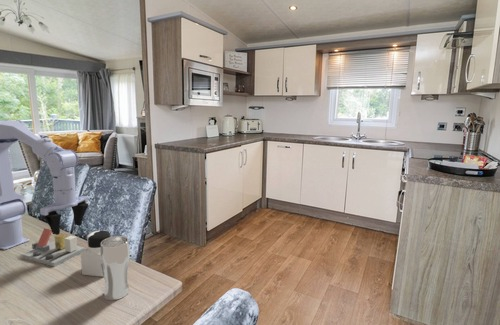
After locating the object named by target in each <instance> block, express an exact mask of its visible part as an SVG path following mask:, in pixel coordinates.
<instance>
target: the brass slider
mask: <svg viewBox="0 0 500 325" xmlns="http://www.w3.org/2000/svg"><path fill="white" fill-rule="evenodd" d="M67 237H68V236H67V234H66V233H61V232H60V234H58V235H56V234H55V235H54V241H55V248H56V249H60V250H61V249H63V248H65V238H67Z"/></svg>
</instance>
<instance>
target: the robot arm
mask: <svg viewBox="0 0 500 325" xmlns="http://www.w3.org/2000/svg"><path fill="white" fill-rule="evenodd" d="M18 141H20V142H21V143H24V144H26V145H27V146H29V147H30V148H31V151H32V153H33V154H35V155H36V156H38V157H39V158H41V159H42V160H44V161H45V162H46V165H47V167H48V170H49V174H50V176H51V177H52V186H53V197H54V202H53V203H50V204H48V205H46V206H44V207H41V208H39V209H40V210H39V213H40V215H41V217H42V218H43V219H44V220H45V221H46V223H47V224H48V226H49V228H50V230H52V233H51V234H53V235H55V236H56V235H58V234H61V227H60V226H61V225H60V223H61V218H62V213H61V214H60V213H58V211H60V210H61V211H62V210H65V209H68V208H71V210H72V214H73V221H74V225H75V226H79V227H80V226H82V222H83V219H84V216H85V214H86V212H87V210H88V208H89V204H88V202H89V196H88V195H87V196H86V195H82V196H77V192H76V190H77V189H76V176H75V175H76V174H75V168H76V167H77V166H78V164H79V156H78V154H77V152H75V150H73V149H65V148H63V147H61V146H60V145H58V144H56V143H54V142H53V141H52V139H50V138H49V137H48V138H45V137H44V138H40V137H39V136H38V135H36V134H35V133H34V132H32V131H31V130H30V129H29V127H28V125H27V123H25V122H24V121H22V120H21V119H16V120H15V119H14V120H0V250H4V251H5V250H8V249H12V248H14V247H17V246H18V245H22V244H24V243H26V242H29V241H30V238H26V237H24V233H23V231H24V230H23V224H22V223H23V222H22V218H24V215H25V214H26V213H27V209H28V206H27V205H28V204H27V203H26V201H25V199H24V195H23V194H21V193H18V192H16V191H15V189H16V188H15V184H14V176H13V171H12V170H13V169H12V163H11V156H10V152H9V151H10V150H9V149H10V147H11V146H12V145H13V144H15V143H17V142H18Z"/></svg>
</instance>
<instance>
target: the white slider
mask: <svg viewBox="0 0 500 325" xmlns="http://www.w3.org/2000/svg"><path fill="white" fill-rule="evenodd" d="M77 246H78V239H77V236H74V235H69V236H67V238H65V251H68V252H72V251H74V250H76V249H77Z"/></svg>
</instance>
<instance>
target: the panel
mask: <svg viewBox="0 0 500 325" xmlns="http://www.w3.org/2000/svg"><path fill="white" fill-rule="evenodd" d="M37 244H38V242H34V243H32V244H31V247H32V249H31V250H30V251H27V252H24V253H22V258H23V259H26V260H29V261H32V262H33V261H34V262H35V263H36V262H37V263H40V264H44V265H47V266H51V267H56V266H58V265H61V264H63V263H64V262H66V261H68V260H70V259H72V258H75V257H76V256H78V255H81V252H83V251H84V250H86V247H84V246H80V245H77V249H76V250H74V251H72V252H68V251H65V248H63V249H61V250H60V249H56V248H55V240H53V241H51V242H47V245H46V246H44V247H43V250H42V249H38V248H35V246H36V245H37Z"/></svg>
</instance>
